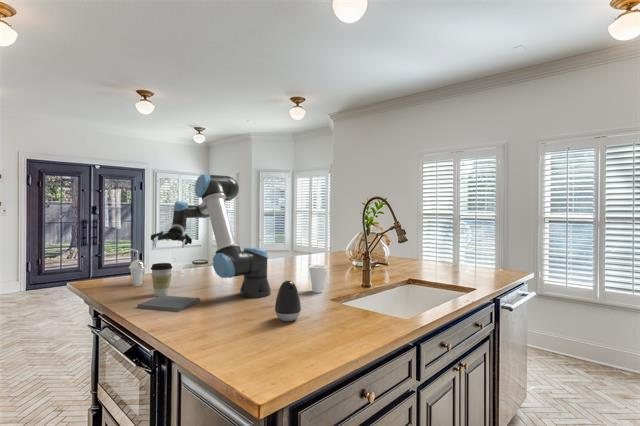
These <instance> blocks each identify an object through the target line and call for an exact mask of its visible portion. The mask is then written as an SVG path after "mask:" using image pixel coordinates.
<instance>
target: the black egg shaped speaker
mask: <svg viewBox="0 0 640 426" xmlns="http://www.w3.org/2000/svg"><path fill="white" fill-rule="evenodd" d="M301 311H302V306H301V298H300V294H299V291H298V288H297V286H296V284H295V283H294V282H293V281H292V280H285V281H283V282H282V283H281V285H280V287H279V289H278V292H277V295H276V298H275V303H274V312H275V315H276V317H277V318H278V319H279V320H280V321H282V322H283V321H284V322H292V321H295V320H297V319H298V318H299V316H300V314H301Z"/></svg>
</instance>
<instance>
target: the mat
mask: <svg viewBox="0 0 640 426" xmlns="http://www.w3.org/2000/svg"><path fill="white" fill-rule="evenodd" d="M200 302H201V298H200V297H189V296H188V297H187V296H176V295H175V296H174V295H166V296H165V295H162V296H155V297H153V298H151V299H149V300H145V301H143V302H141V303H138V304H137V308H138V309H145V310H146V309H147V310H156V311H170V312H180V311H183V310H185V309H187V308H190V307H191V306H193V305H195V304H198V303H200Z"/></svg>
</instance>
